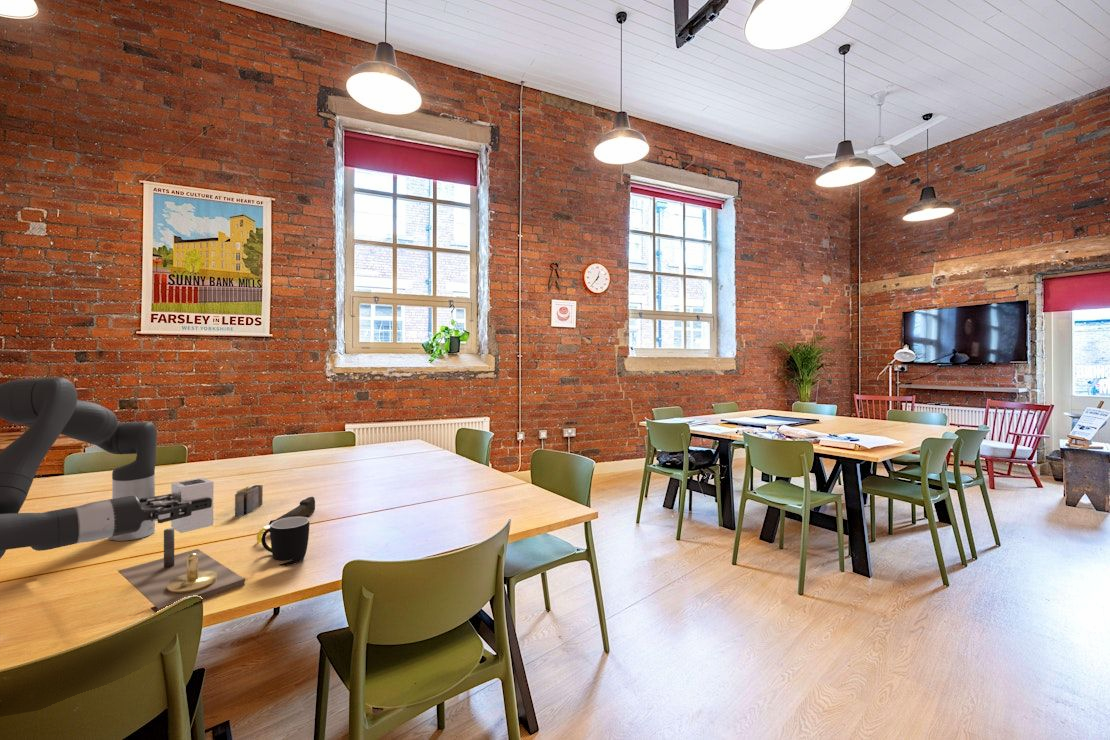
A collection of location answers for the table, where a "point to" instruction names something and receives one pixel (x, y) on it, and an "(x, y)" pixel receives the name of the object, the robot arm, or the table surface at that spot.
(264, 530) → the watch
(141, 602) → the table surface
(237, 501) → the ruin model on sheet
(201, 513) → the open-top grey box
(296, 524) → the mug
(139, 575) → the walnut stand board
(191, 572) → the disc
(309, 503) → the hand tool
